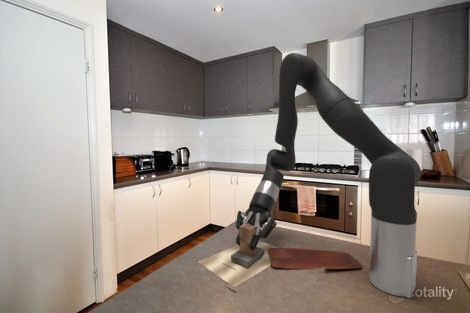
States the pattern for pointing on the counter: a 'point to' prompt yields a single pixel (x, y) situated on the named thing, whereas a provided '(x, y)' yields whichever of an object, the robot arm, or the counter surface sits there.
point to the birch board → (236, 265)
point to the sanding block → (246, 247)
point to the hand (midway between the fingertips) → (244, 246)
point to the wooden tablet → (311, 259)
